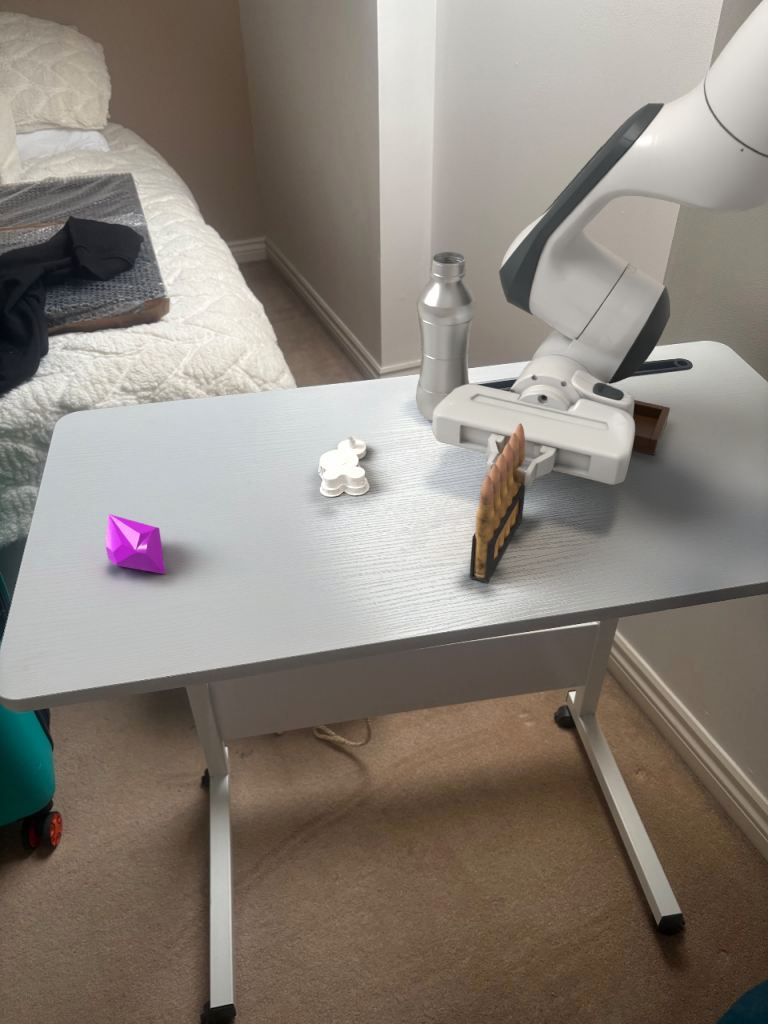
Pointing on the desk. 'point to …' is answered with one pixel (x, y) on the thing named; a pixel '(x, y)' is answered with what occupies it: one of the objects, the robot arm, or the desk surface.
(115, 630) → the desk surface
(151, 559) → the crystal
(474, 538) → the ammunition clip
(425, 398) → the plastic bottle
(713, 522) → the desk surface
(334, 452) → the white lobed figurine
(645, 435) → the tray
